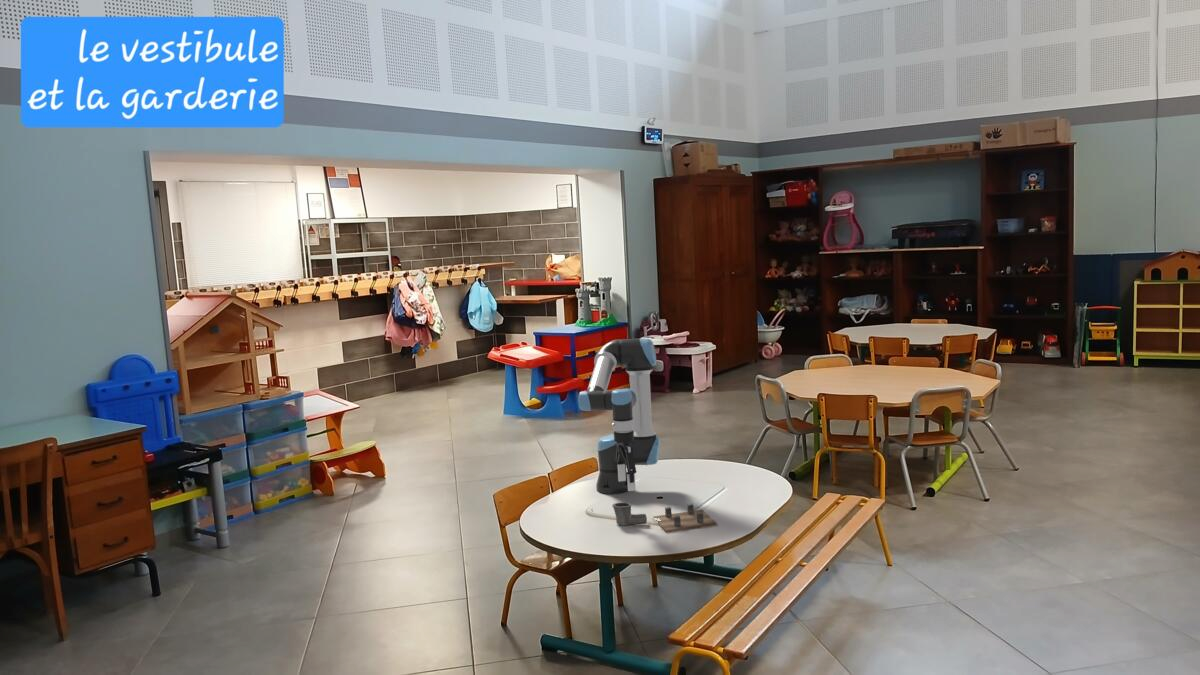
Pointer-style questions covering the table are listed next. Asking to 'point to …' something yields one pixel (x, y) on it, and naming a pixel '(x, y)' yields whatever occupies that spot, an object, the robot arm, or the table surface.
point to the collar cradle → (684, 519)
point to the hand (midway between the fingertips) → (626, 485)
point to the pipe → (627, 515)
